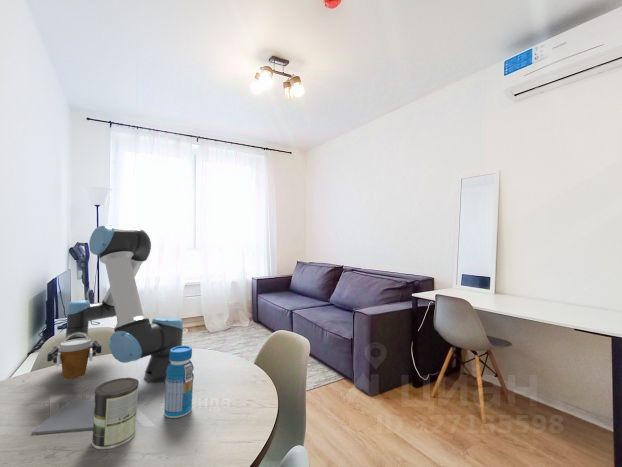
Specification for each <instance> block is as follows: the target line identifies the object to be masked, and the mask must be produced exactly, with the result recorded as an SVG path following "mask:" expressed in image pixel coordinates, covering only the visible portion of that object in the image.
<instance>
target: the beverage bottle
mask: <svg viewBox="0 0 622 467" xmlns="http://www.w3.org/2000/svg"><path fill="white" fill-rule="evenodd" d="M192 357H193V348H192V346H189V345H182V346H177V347H174V348H172V349H170V353H169V360H170V361H171V363H170V364H169V366H168V367H167V370H166V374H167V377H166V379H165V381H164V383H165V391H164V412H163V413H164V415H165V417H167V418H170V419H177V418H178V419H179V418H182V417H184V416H186V415H188V414H189V413H191V411H192V410H193V388H194V387H193V385H194V377H195V376H194V373H193V372H194V367H195V366H194V364H193V362H192V360H191V359H192Z"/></svg>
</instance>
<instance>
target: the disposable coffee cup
mask: <svg viewBox="0 0 622 467" xmlns="http://www.w3.org/2000/svg"><path fill="white" fill-rule="evenodd" d="M91 345H92V339H91V338H89V337H88V338H80V339H73V340H68V341H65V340H64V341H63V342H61V343H60V345H59V346H58V347H59V350H60V354H61V361H60V364H61V374H62V379H63V380H74V379H78V378H81V377H83V376H85V375H86V371H87V367H88V361H89V352H90V347H91Z"/></svg>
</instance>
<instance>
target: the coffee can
mask: <svg viewBox="0 0 622 467" xmlns="http://www.w3.org/2000/svg"><path fill="white" fill-rule="evenodd" d="M139 383H140V381H139V380H138V379H137V378H134V377H120V378H115V379H111V380H108V381H105V382H103V383H101V384H99V385H98V386H96V387H95V388H94V398H95V407H94V425H93V429H92V441H91V446H92V447H93V448H95V449H97V450H111V449H115V448H118V447H120V446H122V445H125V444H127V443H128V442H130V441H131V440H132V439H133V438H134V437H135V435H136V433H137V430H136V428H137V409H138V395H139V394H138V392H139V385H140V384H139Z"/></svg>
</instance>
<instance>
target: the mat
mask: <svg viewBox="0 0 622 467" xmlns="http://www.w3.org/2000/svg"><path fill="white" fill-rule="evenodd" d="M94 407H95V397H93V398H83V399H82V398H81V399H70V400H68V401H67V402H66V403H65V404H63V406H61V407H59V408H58V410H56V411H55V412H54V413H53V414H51V415H49V417H47V419H46V420H45V421H43V422H42V423H41V424H39V426H37V427H35V429H33V431H32V432H31V436H32V435H41V434H43V435H44V434H53V433H54V434H55V433H66V432H77V431H88V430H93V425H94Z"/></svg>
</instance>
